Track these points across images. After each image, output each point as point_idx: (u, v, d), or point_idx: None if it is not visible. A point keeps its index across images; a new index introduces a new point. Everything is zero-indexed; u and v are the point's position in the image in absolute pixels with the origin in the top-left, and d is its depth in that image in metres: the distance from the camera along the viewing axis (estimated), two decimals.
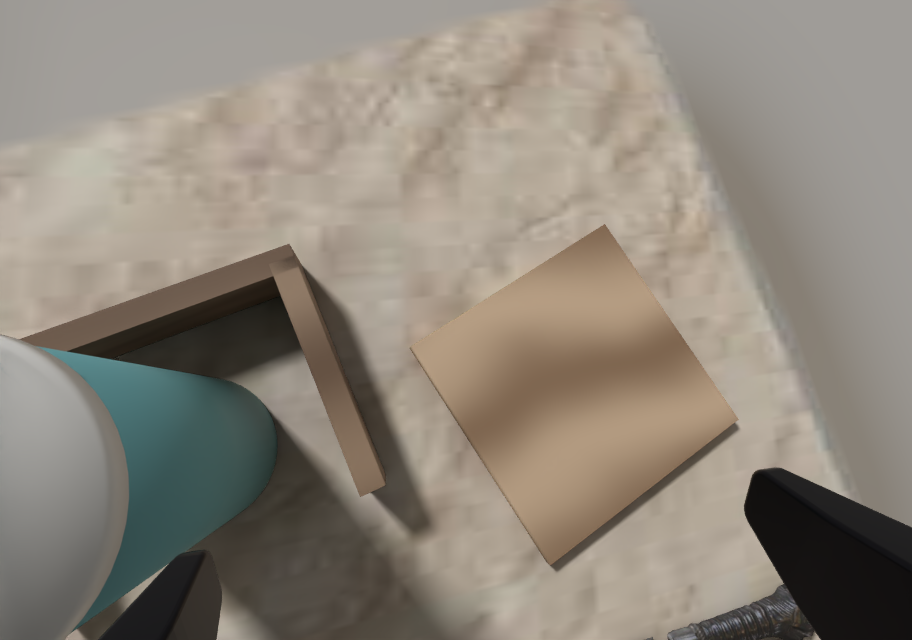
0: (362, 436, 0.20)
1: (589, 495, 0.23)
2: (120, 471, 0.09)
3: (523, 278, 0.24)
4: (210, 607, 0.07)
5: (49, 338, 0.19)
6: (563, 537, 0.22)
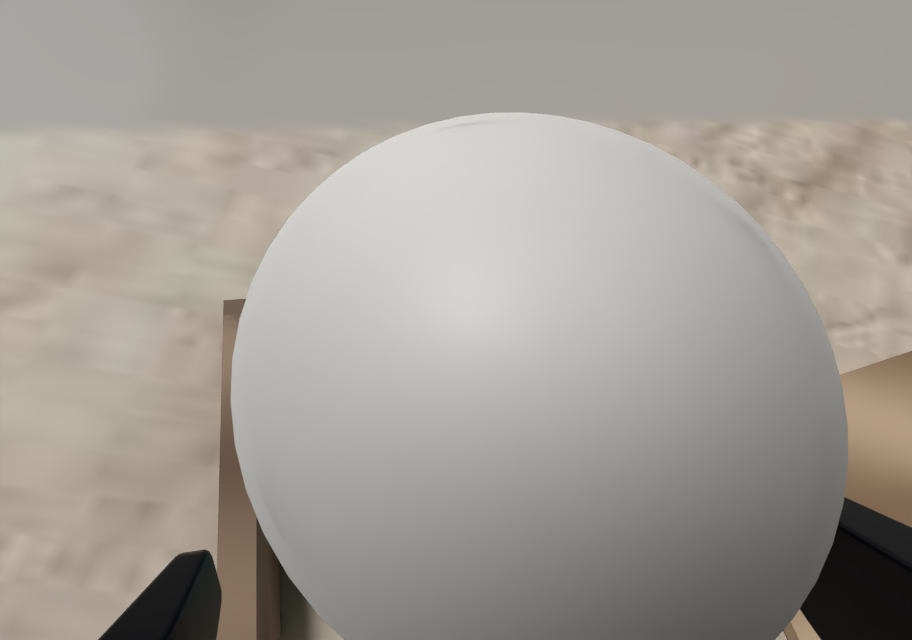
0: None
1: None
2: None
3: None
4: (210, 607, 0.07)
5: None
6: None
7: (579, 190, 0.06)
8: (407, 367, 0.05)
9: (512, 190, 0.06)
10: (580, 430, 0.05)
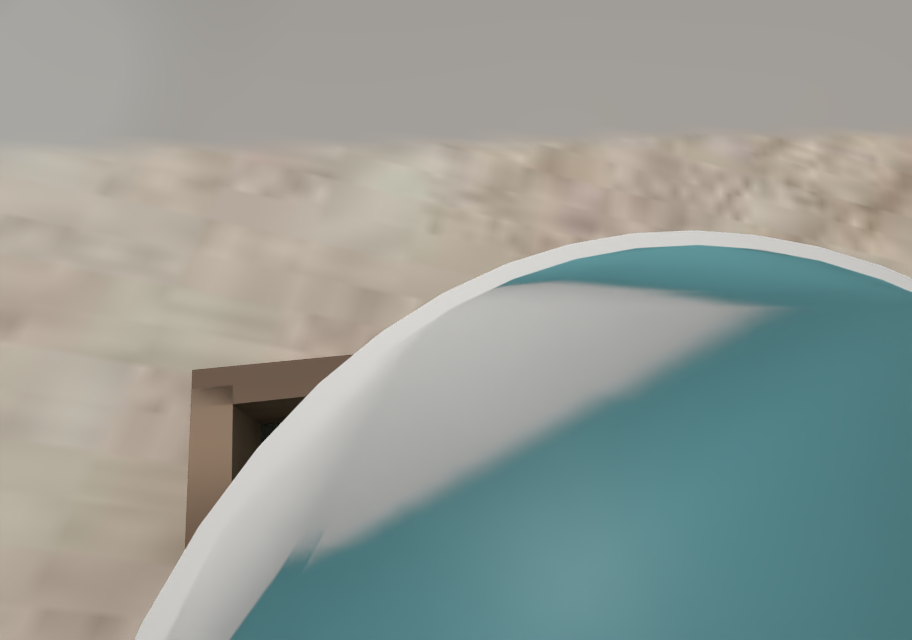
0: None
1: None
2: None
3: None
4: None
5: None
6: None
7: (833, 411, 0.03)
8: None
9: (697, 416, 0.03)
10: None
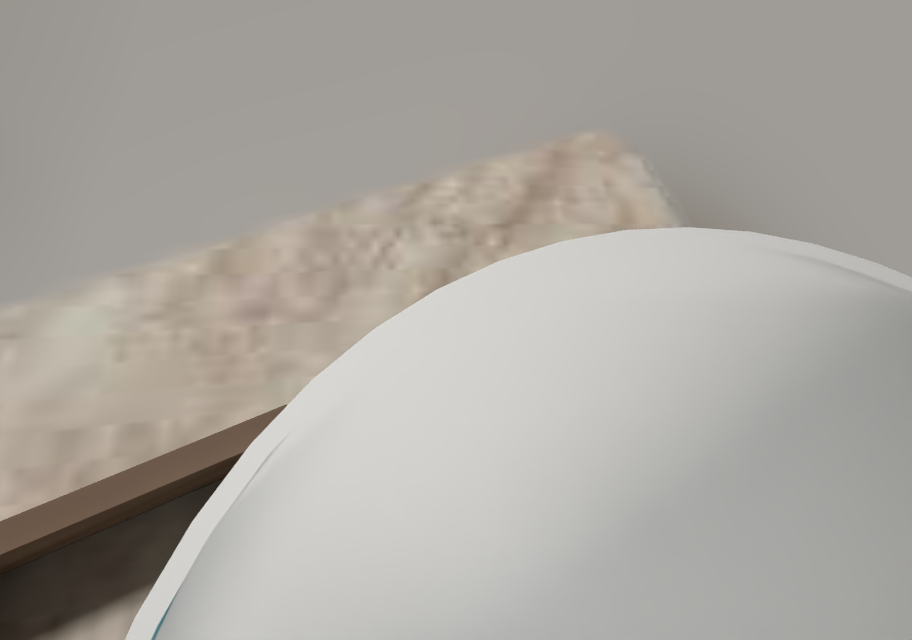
0: None
1: None
2: None
3: None
4: None
5: (14, 527, 0.17)
6: None
7: (825, 407, 0.03)
8: None
9: (688, 414, 0.03)
10: None
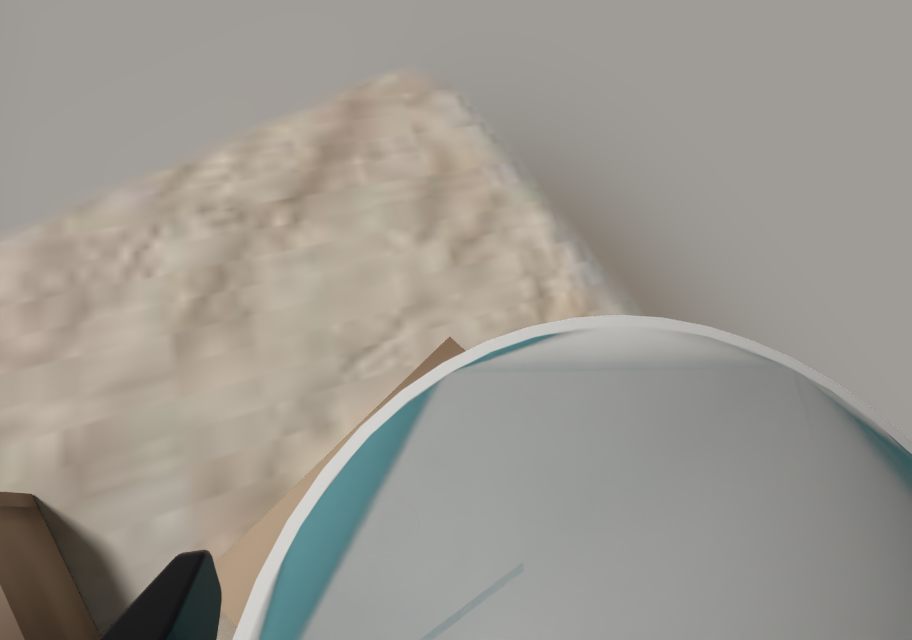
0: None
1: None
2: None
3: (351, 436, 0.18)
4: (210, 607, 0.07)
5: None
6: None
7: (705, 443, 0.04)
8: None
9: (612, 448, 0.04)
10: None
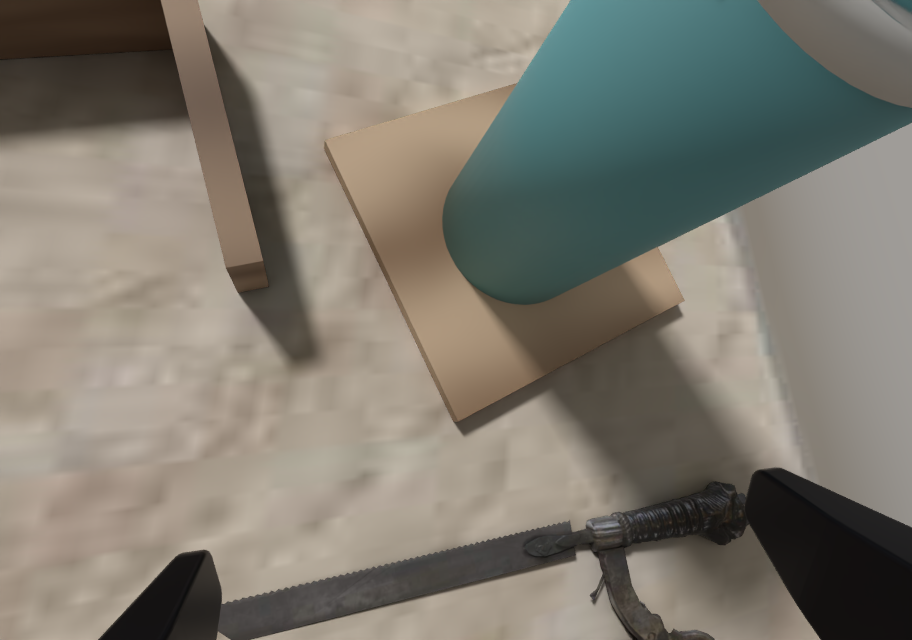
0: (241, 196, 0.15)
1: (514, 350, 0.19)
2: None
3: (471, 99, 0.21)
4: (210, 607, 0.07)
5: None
6: (478, 392, 0.18)
7: None
8: None
9: None
10: None
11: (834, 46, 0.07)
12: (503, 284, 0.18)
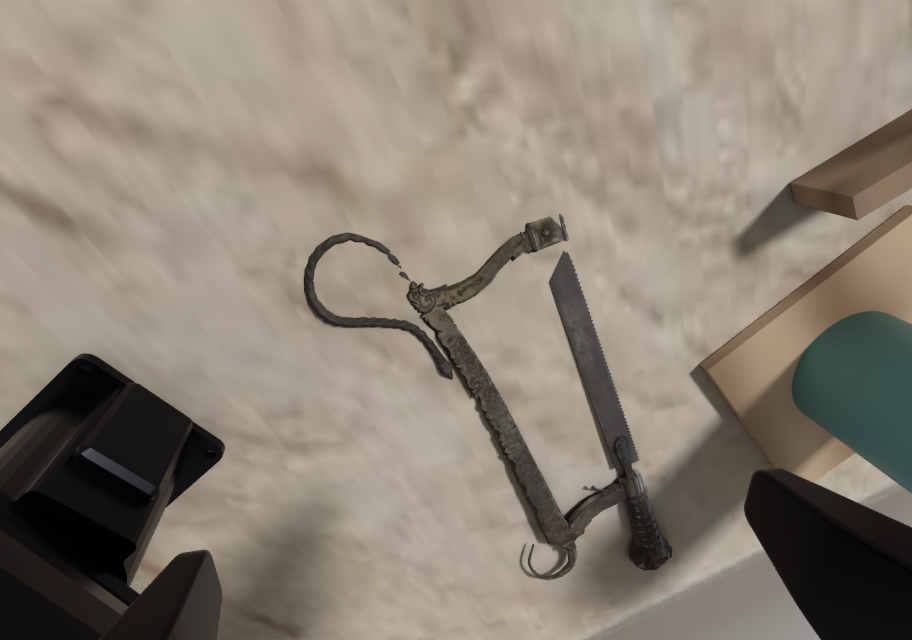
0: (906, 187, 0.19)
1: (758, 392, 0.25)
2: None
3: None
4: (210, 607, 0.07)
5: None
6: (728, 377, 0.24)
7: None
8: None
9: None
10: None
11: None
12: (825, 379, 0.23)
